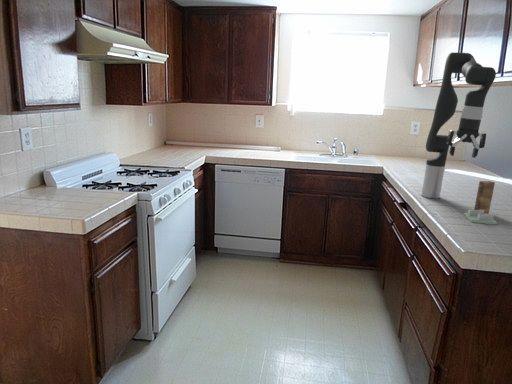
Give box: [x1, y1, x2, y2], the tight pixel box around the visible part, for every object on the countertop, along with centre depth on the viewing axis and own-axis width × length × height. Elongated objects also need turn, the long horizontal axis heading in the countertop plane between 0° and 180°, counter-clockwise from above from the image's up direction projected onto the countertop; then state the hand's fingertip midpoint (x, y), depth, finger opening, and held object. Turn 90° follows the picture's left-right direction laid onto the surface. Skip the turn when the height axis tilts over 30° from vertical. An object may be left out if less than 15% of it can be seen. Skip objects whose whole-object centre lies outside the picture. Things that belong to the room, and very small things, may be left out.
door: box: [473, 180, 496, 213], centre depth 189 cm, size 3×7×15 cm, turn 108°
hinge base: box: [464, 209, 498, 225], centre depth 179 cm, size 11×10×4 cm
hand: (462, 156), depth 169 cm, fingers open, 8 cm apart
